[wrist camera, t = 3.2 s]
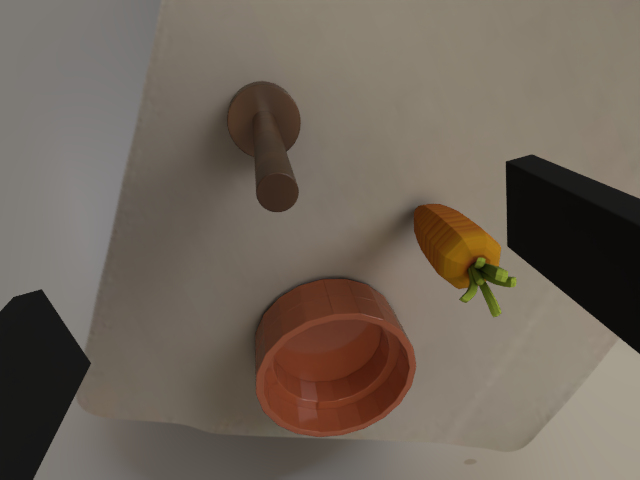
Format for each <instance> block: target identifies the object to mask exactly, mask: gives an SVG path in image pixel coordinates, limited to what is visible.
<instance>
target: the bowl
mask: <svg viewBox="0 0 640 480" xmlns="http://www.w3.org/2000/svg"><path fill="white" fill-rule="evenodd" d="M255 369H256V395H257V397H258V400H259V402H260V404H261V407H262V409H263V411H264V412H265V413H266V414H267V415H268V416H269V417H270V418H271V419H272V420H273V421H274V422H275V423H276V424H278V425H279V426H281V427H283V428H285V429H288V430H290V431H292V432H294V433H297V434H303V435H309V436H316V437H324V436H337V435H344V434H347V433H351V432H354V431H358V430H361V429H364V428H366V427H368V426H370V425H372V424H373V423H375V422H377V421H379V420H381V419H383V418H384V417H385V416H387V415H388V414H389V413H390V412H391V411H392V410H393V409H394V408H395V407H397V406H398V405H399V404H400V402H401V401H402V400H403V398H404V397H405V395H406V394H407V392H408V390H409V389H410V387H411V385H412V382H413V378H414V374H415V370H416V361H415V355H414V349H413V346H412V344H411V343H410V341H409V339H408V337H407V335H406V333H405V331H404V329H403V328H402V326H401V324H400V322H399V320H398V318H397V316H396V314H395V312H394V311H393V309H392V308H391V306H390V305H389V303H388V302H387V300H386V299H385V297H384V296H383V295H381V294H380V293H378V292H377V291H376V290H374V289H373V288H371V287H370V286H369V285H366V284H363V283H359V282H356V281H352V280H349V279H321V280H318V281H314V282H310V283H307V284H303V285H300V286H298V287H296V288H294V289H293V290H291V291H289V292H288V293H286V294H284V295H283V296H281V297H280V298H278V299H277V300H276V302H275V303H274V304H273V305H272V306H271V307H270V308H269V309H268V310H267V311H266V313H265V314H264V315H263V317H262V320H261V322H260V324H259V327H258V329H257V331H256V334H255Z"/></svg>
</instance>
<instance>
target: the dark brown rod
mask: <svg viewBox="0 0 640 480" xmlns="http://www.w3.org/2000/svg"><path fill="white" fill-rule="evenodd" d="M227 123H228V129H229V133H230V135H231V137H232V139H233V141H234V142H235V144H236V145H237V146H238V147H239V148H240V149H241V150H242V151H243V152H245V153H247V154H248V155H251V156H253V157H254V159H255V179H256V196H257V199H258V201H259V203H260V204H261V205H262V206H263V207H264V208H265V209H267V210H269V211H272V212H282V211H286V210H288V209H289V208H291V207H292V206H293V205H294V204H295V202H296V201H297V198H298V193H299V190H298V186H297V183H296V180H295V177H294V174H293V170H292V167H291V164H290V161H289V158H288V155H287V152H286V151H288V150H289V149H290V148H291V147H292V146H293V144H294V143H295V141H296V139H297V137H298V135H299V131H300V124H301V122H300V114H299V110H298V108H297V106H296V104H295V102H294V100H293V99H292V98H291V96H290V95H289V94H288V93H287V92H286V91H285V90H284V89H283V88H281V87H280V86H278V85H276V84H274V83H270V82H264V81H260V82H253V83H250V84H248V85H246V86H244V87H243V88H241V89H240V90H239V91H238V92H237V93H236V95H235V96H234V98H233V99H232V102H231V104H230V108H229V111H228V117H227Z"/></svg>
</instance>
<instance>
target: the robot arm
mask: <svg viewBox="0 0 640 480" xmlns="http://www.w3.org/2000/svg"><path fill="white" fill-rule="evenodd" d="M506 196H507V246H508V247H509V248H510V249H511V250H513V251H514V252H515V253H516V254H517V255H519V256H520V257H521V258H522V259H524V260H525V261H526V262H527V263H529V264H530V265H531V266H532V267H533V268H535V269H536V270H537V271H538V272H540V273H541V274H542V275H543V276H545V277H546V278H547V279H548V280H549V281H551V282H552V283H553V284H554V285H556V286H557V287H558V288H559V289H561V290H562V291H563V292H564V293H565V294H567V295H568V296H569V297H570V298H572V299H573V300H574V301H575V302H577V303H578V304H579V305H580V306H581V307H583V308H584V309H585V310H586V311H588V312H589V313H590V314H591V315H593V316H594V317H595V318H596V319H597V320H599V321H600V322H601V323H602V324H604V325H605V326H606V327H607V328H608V329H610V330H611V331H612V332H613V333H615V334H616V335H617V336H618V337H620V338H621V339H622V340H623V341H624V342H626V343H627V344H628V345H629V346H631V347H632V348H633V349H634V350H636V351H637V352H638V353H639V354H640V199H639V198H637V197H634V196H632V195H629V194H627V193H624V192H622V191H620V190H617V189H615V188H612V187H610V186H607V185H605V184H603V183H600V182H598V181H595V180H593V179H590V178H588V177H586V176H583V175H581V174H578V173H576V172H573V171H571V170H569V169H566V168H564V167H561V166H559V165H556V164H554V163H552V162H549V161H547V160H544V159H542V158H539V157H537V156H535V155H528V156H524V157H521V158H517V159H514V160H510V161H506ZM90 364H91V363H90V361H89V360H88V358H87V357H86V355H85V354H84V352H83V351H82V349H81V348H80V346H79V345H78V343H77V342H76V340H75V339H74V337H73V336H72V334H71V333H70V331H69V330H68V328H67V327H66V325H65V324H64V323H63V321H62V319H61V318H60V316H59V315H58V313H57V312H56V310H55V309H54V307H53V306H52V304H51V303H50V301H49V300H48V298H47V297H46V295H45V294H44V292H43V291H42V290H38V291H34V292H30V293H27V294H23V295H19V296H16V297H13V298H12V299H11V301H10V302H9V303H8V304H7V305H6V306H5V307H4V308H3V309H2V310H1V311H0V480H33V478H34V476H35V474H36V472H37V470H38V468H39V466H40V464H41V462H42V460H43V458H44V456H45V454H46V452H47V450H48V448H49V446H50V444H51V442H52V440H53V438H54V436H55V434H56V432H57V430H58V428H59V426H60V424H61V422H62V420H63V418H64V416H65V414H66V412H67V410H68V408H69V406H70V404H71V402H72V400H73V398H74V396H75V394H76V392H77V390H78V388H79V386H80V384H81V382H82V380H83V378H84V376H85V374H86V372H87V370H88V368H89V366H90Z"/></svg>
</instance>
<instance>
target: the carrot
mask: <svg viewBox="0 0 640 480" xmlns="http://www.w3.org/2000/svg"><path fill="white" fill-rule="evenodd" d="M414 232H415V235H416V238H417V241H418V243H419V246H420V248H421V250H422V252H423V253H424V255H425V256H426V258H427V259H428V261H429V262H430V264H431V265H432V266H433V268H434V269H435V270H436V272H437V273H438V274H439V275H440V276H441V277H443V278H444V279H445V280H447V281H448V282H449V283H451V284H452V285H453V286H454V287H456V288H458V289H462V288H468V290H467V292H466V293H465V294H464V295H463V296H462V297H461V298H460V299H459V300H461V301H462V302H465V303H466V302H468V301H469V300H471V299H472V298H473V297H474V295H475V294H476V292H477V288H478V286H480V289H481V291H482V293H483V295H484V298H485V300H486V302H487V304H488V307H489V309H490V312H491V314H492V316H493V317H496V316H499V315H500V314H501V309H500V307H499V305H498V302H497V300H496V299H495V297H494V295H493V293H492V292H491V290H490V288H489V286H488V285H487V283H486V280H487V281H489V282H491V283H493V284H496V285H500V286H504V287H515V286H516V277H508V271H506V270H504V269H502V268H500V267H499V260H500V252H501V247H500V245H499V244H498V242H496V241H495V240H494V239H493V238H492V237H491V236H490V235H489V234H487V233H486V232H485V231H484V230H483V229H482V228H481V227H479V226H478V225H477V224H475V223H474V222H473V221H471V220H470V219H469V218H467V217H466V216H464V215H463V214H461V213H460V212H458V211H456V210H454V209H452V208H449V207H447V206H444V205H441V204H427V205H420V206H418V207H417V208H416V209H415V212H414Z"/></svg>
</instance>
